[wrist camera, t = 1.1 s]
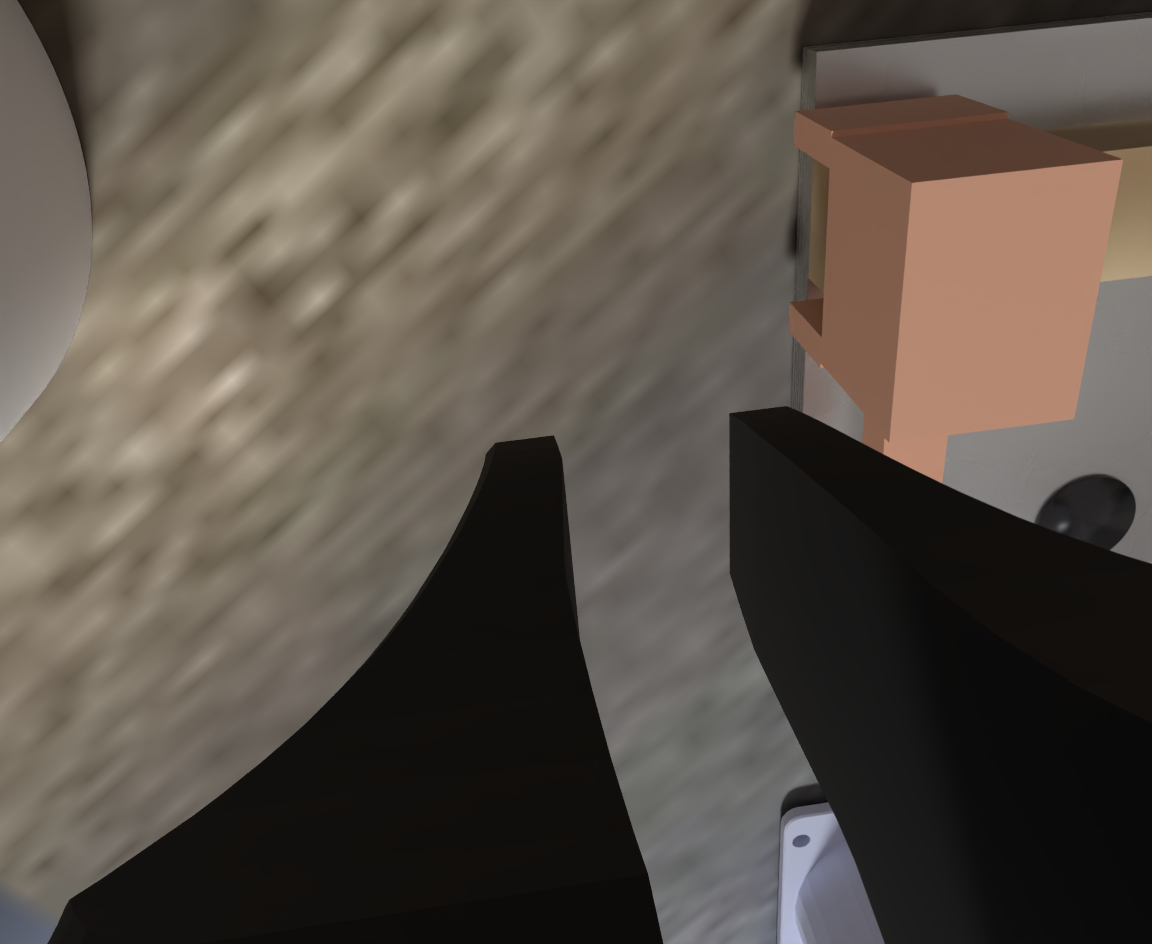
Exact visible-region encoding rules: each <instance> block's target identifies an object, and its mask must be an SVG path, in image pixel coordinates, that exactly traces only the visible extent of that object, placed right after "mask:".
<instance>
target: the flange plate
mask: <svg viewBox="0 0 1152 944" xmlns="http://www.w3.org/2000/svg"><path fill="white" fill-rule="evenodd" d="M954 94H957V95H960V96H963V97H966V98H969V99H972V100H975V101H978V102H981V103H983V104H986V105H989V106H992V107H995V108H998V109H1001V110H1004V111H1007V112H1009V113H1008V119H1011V120H1014V121H1016V122H1019V123H1022V124H1025V125H1028V126H1031V127H1033V128H1036V129H1039V130H1048V129H1057V128H1066V127H1076V126H1085V125H1094V124H1103V123H1112V122H1121V121H1131V120H1140V119H1149V118H1152V12H1142V13H1132V14H1122V15H1112V16H1102V17H1093V18H1083V19H1073V20H1063V21H1053V22H1043V23H1033V24H1024V25H1014V26H1004V27H994V28H984V29H974V30H965V31H955V32H945V33H935V34H925V35H915V36H905V37H896V38H886V39H876V40H866V41H856V42H846V43H837V44H827V45H817V46H807V47H803V56H802V87H801V111H803V110H813V109H822V108H831V107H841V106H850V105H860V104H869V103H879V102H888V101H898V100H907V99H916V98H926V97H935V96H945V95H954ZM812 169H813V158H812V157H811V156H809V155H808V154H806V153H805V152H803V151H802V150H799V181H798V213H797V244H796V275H795V301H803V300H812V299H820V298H824V293H823V292H822V291H821V290H820V289H819V288H818V287H817V286H816V285H815V284H814V283H813V282H812V281H811V280H810V279H809V278H808V273H809V247H810V221H811V195H812ZM791 408H792V409H795V410H798V411H800V412H802V413H804V414H807V415H809V416H811V417H813V418H815V419H817V420H819V421H821V422H823V423H825V424H827V425H829V426H831V427H833V428H835V429H836V430H838V431H840V432H842V433H844V434H846V435H848V436H850V437H852V438H854V439H855V440H857V441H859V442H861V443H862V436H863V423H864V413H863V412H862V411H861V410H860V408H859V407H858V406H857V405H856V404H855V403H854V401H853V400H852V399H851V398H850V397H849V396H848V394H847V393H846V392H845V391H844V390H843V389H842V387H841V386H840V385H839V384H838V383H837V382H836V380H835V379H834V378H833V377H832V376H831V375H830V373H829V372H828V371H827V370H826V369H825V368H820V367H819V366H818V365H817V363H816V362H815V361H814V360H813V359H812V358H811V356H810V355H809V354H808V353H807V352H806V350H805V349H804V348H803V347H802V346H801V345H800V343H799V342H798V341H797V340H796V339H795V337H794V338H793V370H792V401H791ZM942 483H943V484H945V485H947V486H949V487H951V488H953V489H955V490H957V491H959V492H962V493H964V494H966V495H968V496H971V497H973V498H975V499H978V500H980V501H982V502H985V503H987V504H989V505H991V506H994V507H996V508H998V509H1001V510H1003V511H1005V512H1008V513H1010V514H1012V515H1015V516H1017V517H1019V518H1022V519H1024V520H1027V521H1029V522H1032V523H1035V524H1037V525H1040V526H1042V527H1045V528H1048V529H1050V530H1053V531H1056V532H1058V533H1061V534H1064V535H1067V536H1070V537H1073V538H1076V539H1079V540H1082V541H1084V542H1087V543H1090V544H1093V545H1096V546H1099V547H1102V548H1105V549H1108V550H1110V551H1113V552H1116V553H1119V554H1122V555H1125V556H1128V557H1132V558H1135V559H1138V560H1141V561H1145V562H1148V563H1151V564H1152V276H1146V277H1138V278H1130V279H1121V280H1113V281H1105V282H1100V285H1099V291H1098V296H1097V301H1096V306H1095V312H1094V317H1093V322H1092V327H1091V333H1090V338H1089V343H1088V349H1087V354H1086V359H1085V364H1084V370H1083V375H1082V380H1081V386H1080V391H1079V396H1078V401H1077V407H1076V412H1075V417H1074V419H1072V420H1064V421H1056V422H1049V423H1041V424H1033V425H1025V426H1018V427H1010V428H1002V429H994V430H987V431H979V432H971V433H964V434H956V435H948V440H947V448H946V456H945V465H944V473H943V481H942Z"/></svg>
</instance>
